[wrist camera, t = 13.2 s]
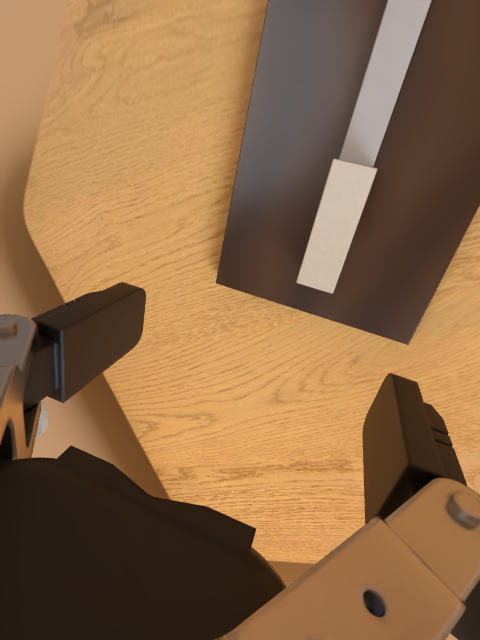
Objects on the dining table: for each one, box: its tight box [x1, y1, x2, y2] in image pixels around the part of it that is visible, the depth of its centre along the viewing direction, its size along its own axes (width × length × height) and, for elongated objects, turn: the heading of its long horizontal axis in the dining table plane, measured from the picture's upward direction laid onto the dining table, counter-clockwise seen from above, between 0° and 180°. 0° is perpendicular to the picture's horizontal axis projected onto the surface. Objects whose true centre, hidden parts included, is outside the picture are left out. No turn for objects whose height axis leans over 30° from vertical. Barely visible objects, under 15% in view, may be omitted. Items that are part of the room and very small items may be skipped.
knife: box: [297, 0, 432, 293], centre depth 21 cm, size 18×3×3 cm, turn 168°
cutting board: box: [216, 0, 480, 345], centre depth 23 cm, size 16×24×2 cm, turn 168°
